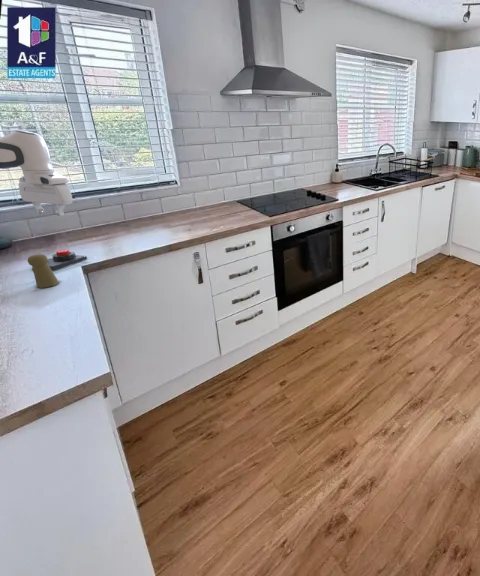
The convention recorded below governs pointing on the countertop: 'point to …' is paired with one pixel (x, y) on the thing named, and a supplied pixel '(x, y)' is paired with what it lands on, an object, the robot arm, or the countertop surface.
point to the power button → (62, 252)
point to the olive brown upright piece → (42, 271)
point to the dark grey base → (64, 260)
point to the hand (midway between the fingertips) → (51, 214)
